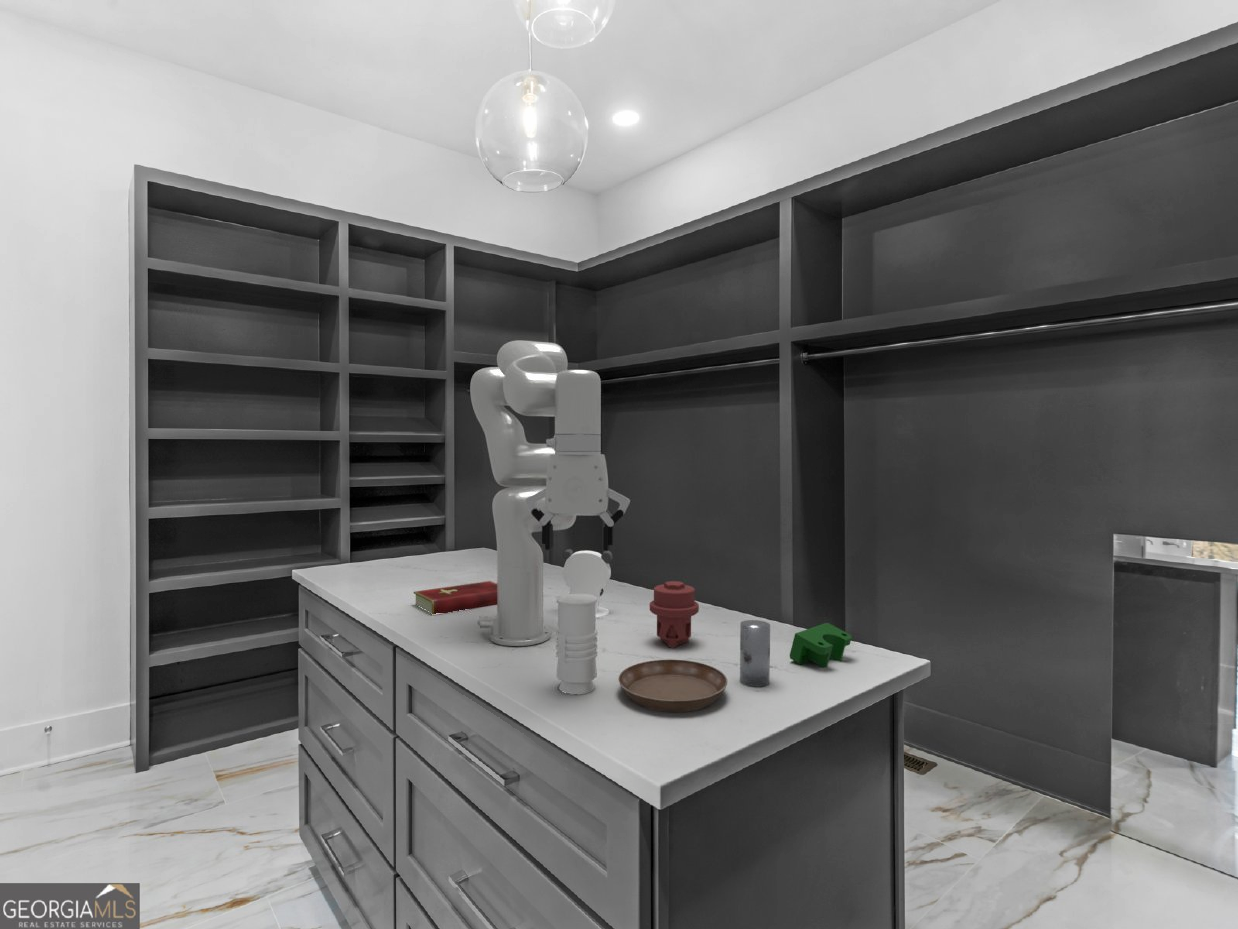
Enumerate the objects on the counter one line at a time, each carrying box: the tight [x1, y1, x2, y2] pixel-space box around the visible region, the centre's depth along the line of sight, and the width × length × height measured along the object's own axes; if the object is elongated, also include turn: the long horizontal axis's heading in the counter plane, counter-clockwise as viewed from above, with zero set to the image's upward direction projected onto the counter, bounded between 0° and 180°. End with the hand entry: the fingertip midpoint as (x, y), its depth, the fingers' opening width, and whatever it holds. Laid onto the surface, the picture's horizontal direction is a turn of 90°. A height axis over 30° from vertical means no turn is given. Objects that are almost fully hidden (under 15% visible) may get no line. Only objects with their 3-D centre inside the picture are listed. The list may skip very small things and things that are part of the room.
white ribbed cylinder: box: [555, 594, 598, 696], centre depth 108 cm, size 7×7×15 cm
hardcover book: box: [413, 580, 497, 615], centre depth 164 cm, size 12×21×4 cm, turn 128°
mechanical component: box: [649, 580, 700, 648], centre depth 133 cm, size 12×10×10 cm
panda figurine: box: [562, 548, 614, 619], centre depth 155 cm, size 12×11×15 cm
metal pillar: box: [739, 619, 771, 688], centre depth 111 cm, size 5×5×10 cm
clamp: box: [789, 622, 853, 668], centre depth 122 cm, size 12×6×9 cm, turn 125°
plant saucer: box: [617, 658, 728, 713], centre depth 106 cm, size 18×18×3 cm
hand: (577, 549), depth 108 cm, fingers open, 9 cm apart
